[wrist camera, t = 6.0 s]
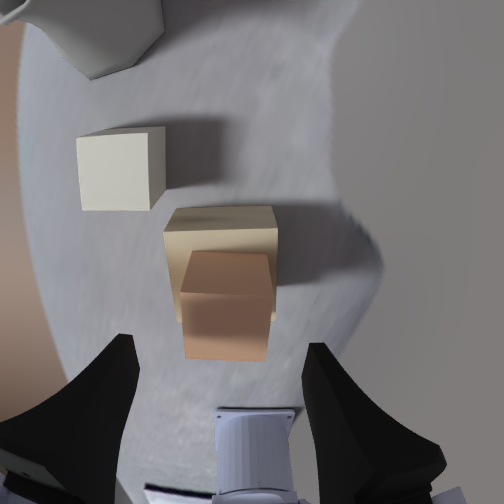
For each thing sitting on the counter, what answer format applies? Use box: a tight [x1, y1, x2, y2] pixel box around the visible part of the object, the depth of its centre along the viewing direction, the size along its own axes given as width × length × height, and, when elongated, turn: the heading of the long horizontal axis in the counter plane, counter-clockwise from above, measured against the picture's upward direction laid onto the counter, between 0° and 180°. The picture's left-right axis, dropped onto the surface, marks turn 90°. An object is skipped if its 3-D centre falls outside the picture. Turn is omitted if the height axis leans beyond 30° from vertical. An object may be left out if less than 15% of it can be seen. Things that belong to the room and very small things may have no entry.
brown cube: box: [180, 251, 274, 362], centre depth 16 cm, size 4×4×4 cm
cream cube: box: [76, 126, 166, 211], centre depth 17 cm, size 4×4×4 cm
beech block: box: [163, 206, 278, 322], centre depth 20 cm, size 6×6×4 cm
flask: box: [0, 0, 165, 80], centre depth 10 cm, size 7×7×10 cm
